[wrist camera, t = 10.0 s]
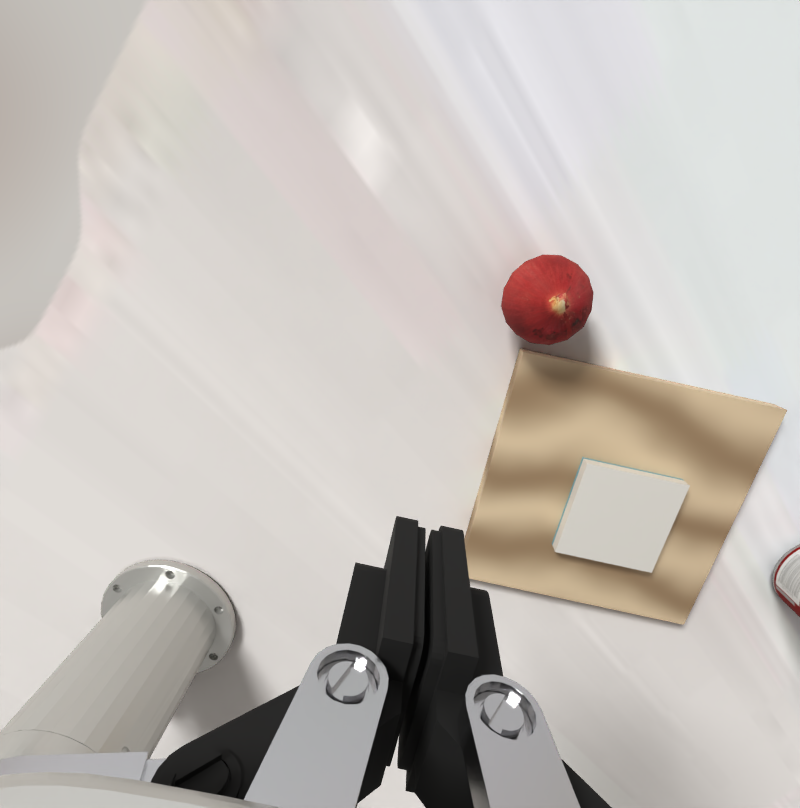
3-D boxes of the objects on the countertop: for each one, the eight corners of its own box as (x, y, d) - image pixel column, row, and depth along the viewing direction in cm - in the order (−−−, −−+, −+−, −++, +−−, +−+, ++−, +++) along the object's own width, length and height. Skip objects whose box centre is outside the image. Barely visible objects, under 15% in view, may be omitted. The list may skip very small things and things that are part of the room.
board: (675, 612, 43) (683, 624, 42) (456, 565, 43) (457, 576, 42) (773, 404, 37) (787, 410, 36) (519, 348, 37) (523, 352, 36)
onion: (590, 299, 36) (634, 311, 28) (528, 350, 37) (553, 375, 30) (541, 237, 35) (573, 233, 27) (479, 293, 36) (492, 303, 29)
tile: (551, 543, 40) (645, 563, 40) (555, 551, 39) (651, 572, 39) (582, 457, 38) (681, 478, 38) (587, 463, 37) (689, 485, 37)
